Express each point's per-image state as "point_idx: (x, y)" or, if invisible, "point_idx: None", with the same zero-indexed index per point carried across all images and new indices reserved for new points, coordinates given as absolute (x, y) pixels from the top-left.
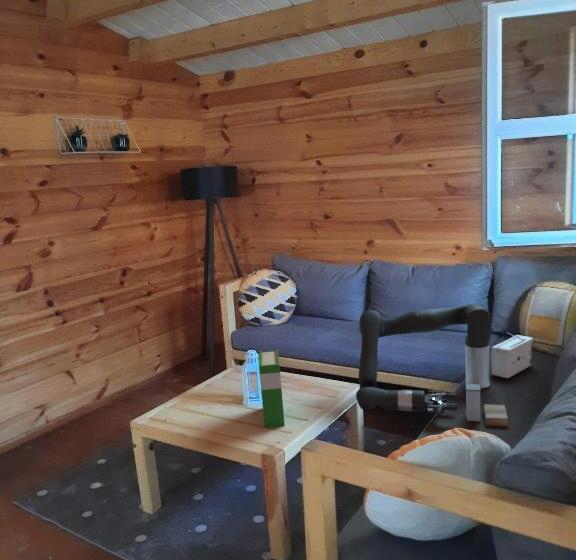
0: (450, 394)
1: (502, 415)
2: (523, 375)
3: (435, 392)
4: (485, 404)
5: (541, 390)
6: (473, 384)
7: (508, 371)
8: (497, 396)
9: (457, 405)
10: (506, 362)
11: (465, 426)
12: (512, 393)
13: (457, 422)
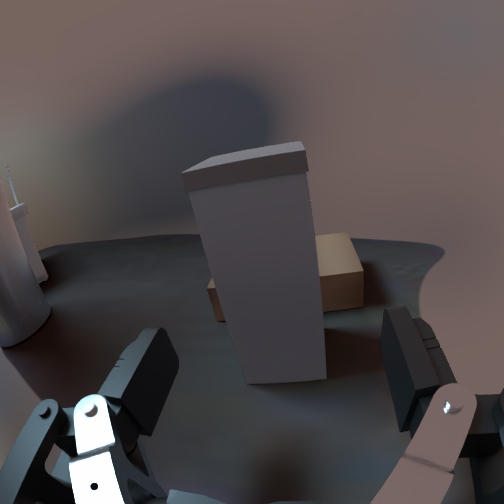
0: (137, 366)
1: (324, 241)
2: (56, 263)
3: (29, 485)
4: (211, 284)
5: (129, 241)
6: (206, 161)
7: (41, 261)
8: (111, 293)
9: (403, 307)
10: (30, 238)
11: None
12: (113, 271)
13: (362, 422)
